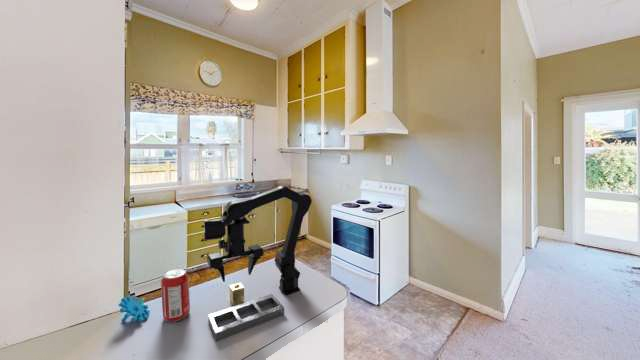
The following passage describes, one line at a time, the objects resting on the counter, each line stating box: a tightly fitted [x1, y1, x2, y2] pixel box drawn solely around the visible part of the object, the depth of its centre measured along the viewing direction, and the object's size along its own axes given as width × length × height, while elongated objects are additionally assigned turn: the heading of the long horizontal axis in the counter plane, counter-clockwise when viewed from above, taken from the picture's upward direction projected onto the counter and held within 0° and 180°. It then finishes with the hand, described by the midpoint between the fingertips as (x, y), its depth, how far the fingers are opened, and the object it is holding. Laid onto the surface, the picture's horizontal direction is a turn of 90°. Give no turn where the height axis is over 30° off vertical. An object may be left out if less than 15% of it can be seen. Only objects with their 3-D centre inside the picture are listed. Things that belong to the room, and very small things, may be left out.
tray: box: [208, 293, 285, 342], centre depth 84 cm, size 22×10×2 cm, turn 125°
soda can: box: [160, 268, 191, 322], centre depth 84 cm, size 8×8×15 cm
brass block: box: [229, 282, 245, 307], centre depth 93 cm, size 4×4×6 cm
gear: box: [118, 295, 151, 323], centre depth 83 cm, size 11×6×10 cm
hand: (236, 278), depth 92 cm, fingers open, 9 cm apart
